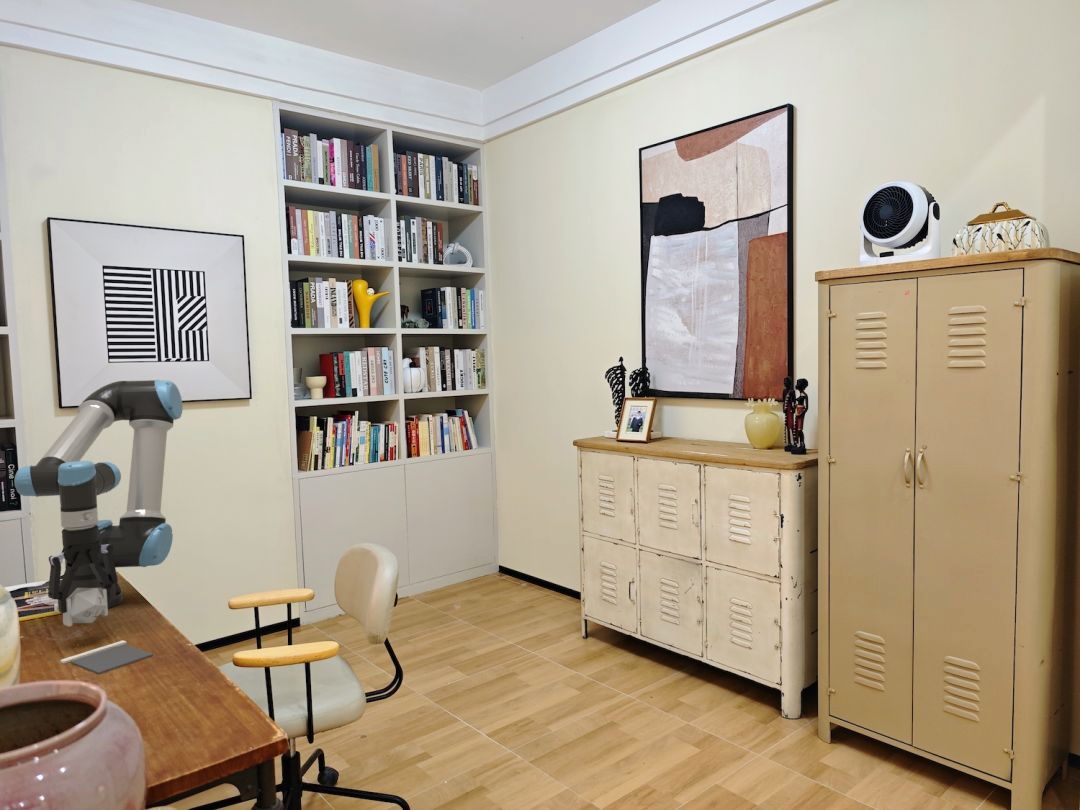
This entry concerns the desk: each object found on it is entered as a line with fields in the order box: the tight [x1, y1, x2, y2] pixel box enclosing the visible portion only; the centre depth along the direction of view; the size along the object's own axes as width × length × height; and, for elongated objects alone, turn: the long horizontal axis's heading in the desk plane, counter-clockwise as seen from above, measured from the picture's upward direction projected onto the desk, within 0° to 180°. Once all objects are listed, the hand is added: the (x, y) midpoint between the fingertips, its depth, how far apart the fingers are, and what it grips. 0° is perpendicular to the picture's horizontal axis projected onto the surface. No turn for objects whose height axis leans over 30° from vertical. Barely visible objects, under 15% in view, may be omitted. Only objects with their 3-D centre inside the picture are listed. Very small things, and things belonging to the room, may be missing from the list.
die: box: [68, 588, 107, 624], centre depth 180 cm, size 8×9×10 cm
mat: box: [59, 639, 154, 675], centre depth 171 cm, size 14×15×1 cm
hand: (86, 619), depth 180 cm, fingers closed on die, 7 cm apart
